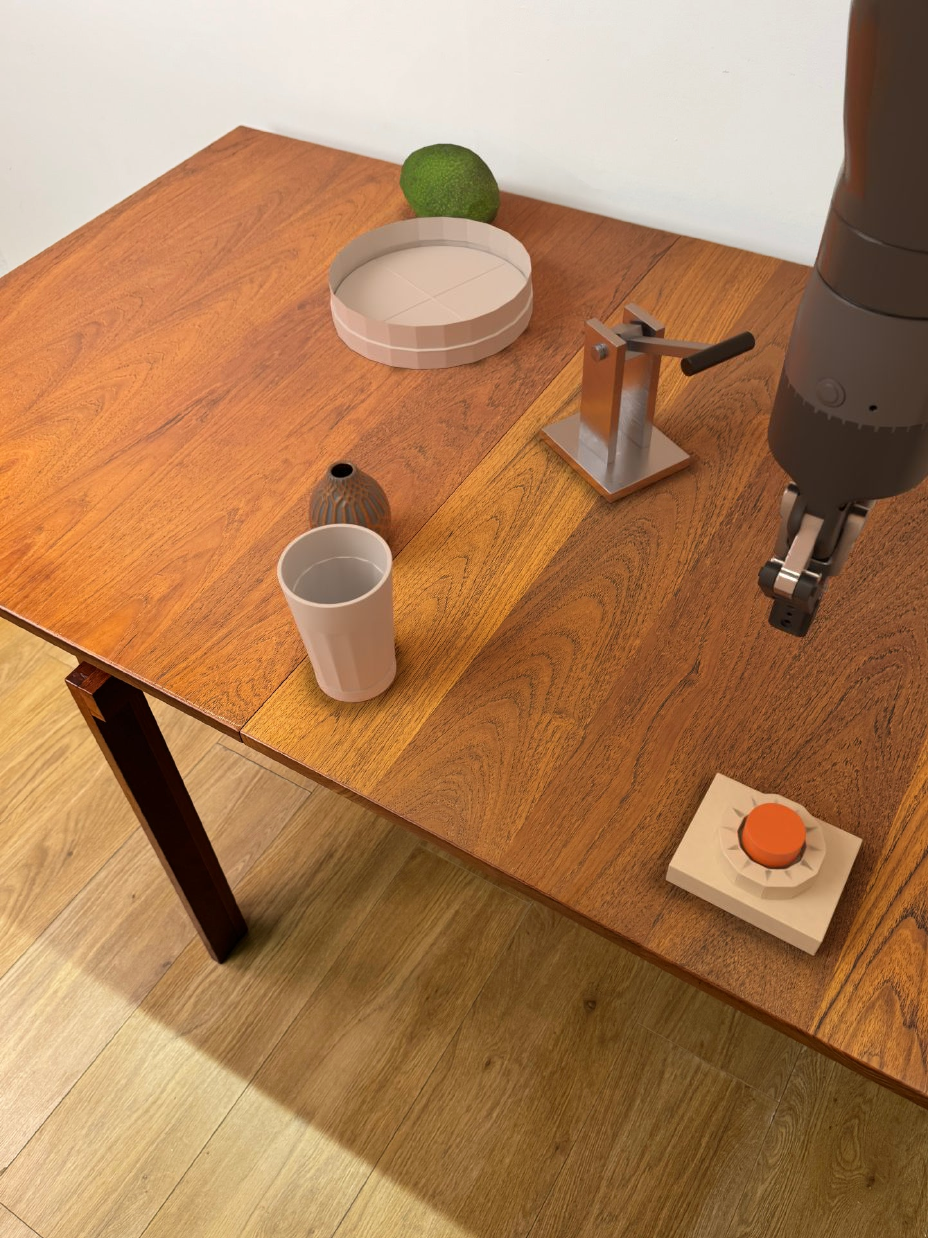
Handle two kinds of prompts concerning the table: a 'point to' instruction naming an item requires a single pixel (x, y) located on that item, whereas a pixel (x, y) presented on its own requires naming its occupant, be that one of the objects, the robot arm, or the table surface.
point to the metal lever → (683, 348)
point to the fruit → (450, 184)
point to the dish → (431, 292)
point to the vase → (350, 500)
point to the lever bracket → (617, 415)
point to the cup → (343, 607)
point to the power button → (773, 835)
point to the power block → (763, 867)
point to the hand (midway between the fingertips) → (790, 623)
